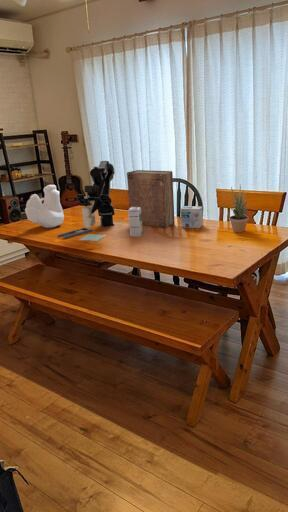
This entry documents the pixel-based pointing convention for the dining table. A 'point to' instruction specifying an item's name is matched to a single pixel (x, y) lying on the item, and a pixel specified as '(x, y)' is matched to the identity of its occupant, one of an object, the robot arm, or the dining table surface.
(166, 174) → the book
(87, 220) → the beige rectangular block
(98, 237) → the mat
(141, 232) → the syrup box
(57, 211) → the decorative rooster
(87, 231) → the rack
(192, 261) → the dining table surface
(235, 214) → the potted plant
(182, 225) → the light bulb box
